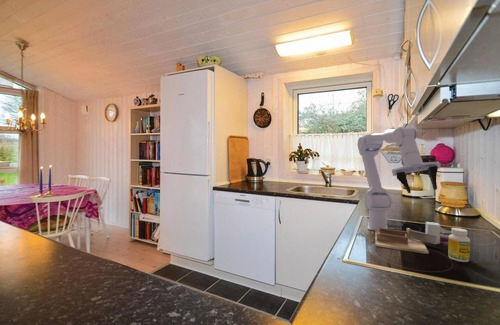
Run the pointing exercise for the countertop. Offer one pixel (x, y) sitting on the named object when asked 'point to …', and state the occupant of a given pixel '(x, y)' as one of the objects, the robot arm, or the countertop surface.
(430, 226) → the link block
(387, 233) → the cradle board
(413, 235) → the gate
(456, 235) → the supplement bottle
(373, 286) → the countertop surface
